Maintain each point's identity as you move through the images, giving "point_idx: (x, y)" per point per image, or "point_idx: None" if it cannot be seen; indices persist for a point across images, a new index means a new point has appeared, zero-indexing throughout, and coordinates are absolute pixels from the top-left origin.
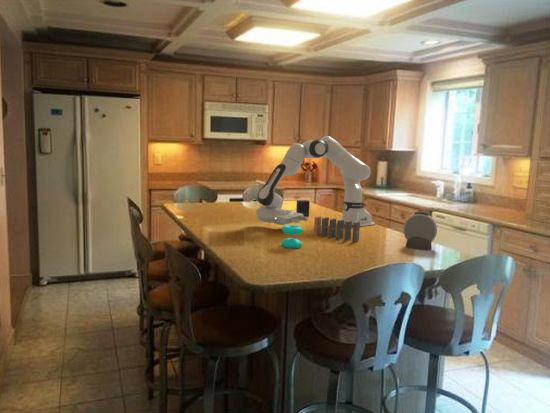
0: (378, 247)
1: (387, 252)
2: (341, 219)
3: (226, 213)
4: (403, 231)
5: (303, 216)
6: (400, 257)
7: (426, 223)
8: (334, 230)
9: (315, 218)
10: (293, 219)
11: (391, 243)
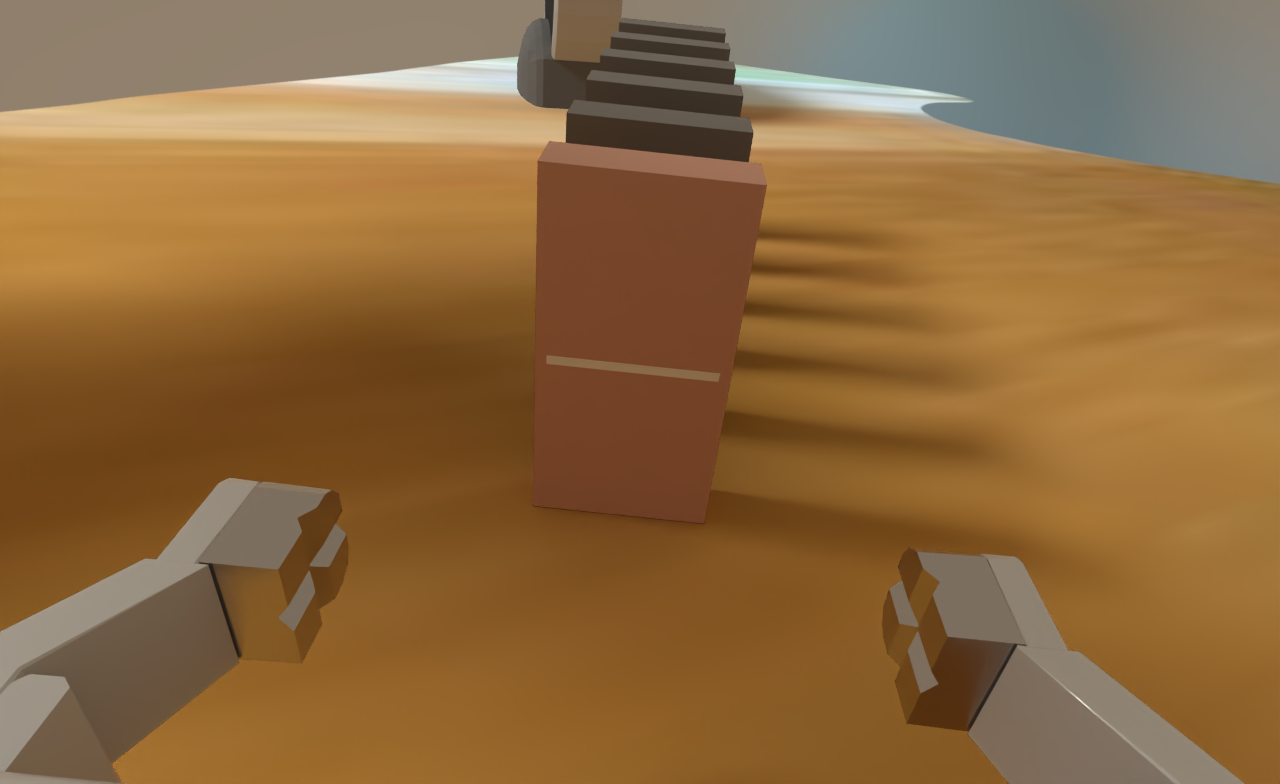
0: (750, 160)
1: (839, 144)
2: (615, 55)
3: None
4: (620, 9)
5: (4, 633)
6: (887, 126)
7: None
8: None
9: (760, 204)
10: (1150, 730)
11: (557, 132)
